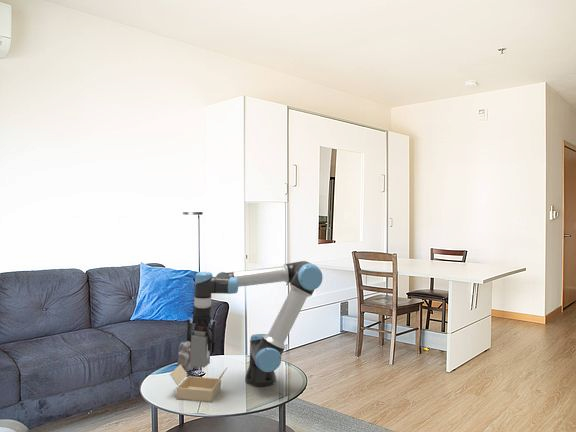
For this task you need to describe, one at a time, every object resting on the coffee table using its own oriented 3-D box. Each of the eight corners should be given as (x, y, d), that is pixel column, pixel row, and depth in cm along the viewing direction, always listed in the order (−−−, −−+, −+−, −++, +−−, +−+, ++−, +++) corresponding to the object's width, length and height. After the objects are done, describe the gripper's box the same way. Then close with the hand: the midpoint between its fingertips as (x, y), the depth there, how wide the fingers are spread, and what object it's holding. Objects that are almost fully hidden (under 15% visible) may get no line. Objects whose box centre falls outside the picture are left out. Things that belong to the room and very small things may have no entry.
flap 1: (180, 364, 224) (180, 364, 224) (170, 373, 211) (169, 374, 211) (187, 375, 223) (187, 375, 223) (177, 385, 210) (177, 385, 211)
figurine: (189, 373, 242) (191, 344, 241) (173, 369, 247) (174, 340, 247) (202, 368, 250) (204, 340, 250) (186, 364, 256) (187, 336, 256)
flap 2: (220, 377, 221) (220, 378, 221) (212, 388, 208) (212, 388, 208) (226, 367, 221) (227, 367, 221) (219, 376, 208) (219, 377, 208)
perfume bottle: (204, 367, 212) (206, 327, 212) (190, 366, 213) (191, 326, 213) (209, 362, 218) (211, 324, 218) (195, 361, 220) (197, 322, 219)
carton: (220, 389, 222) (221, 379, 222) (211, 402, 208) (211, 391, 207) (187, 386, 224) (188, 376, 224) (176, 399, 210) (176, 387, 210)
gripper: (224, 306, 218) (222, 356, 218) (185, 303, 220) (183, 353, 221) (220, 309, 211) (218, 361, 211) (179, 306, 213) (177, 358, 213)
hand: (200, 357), depth 216 cm, fingers closed on perfume bottle, 6 cm apart
